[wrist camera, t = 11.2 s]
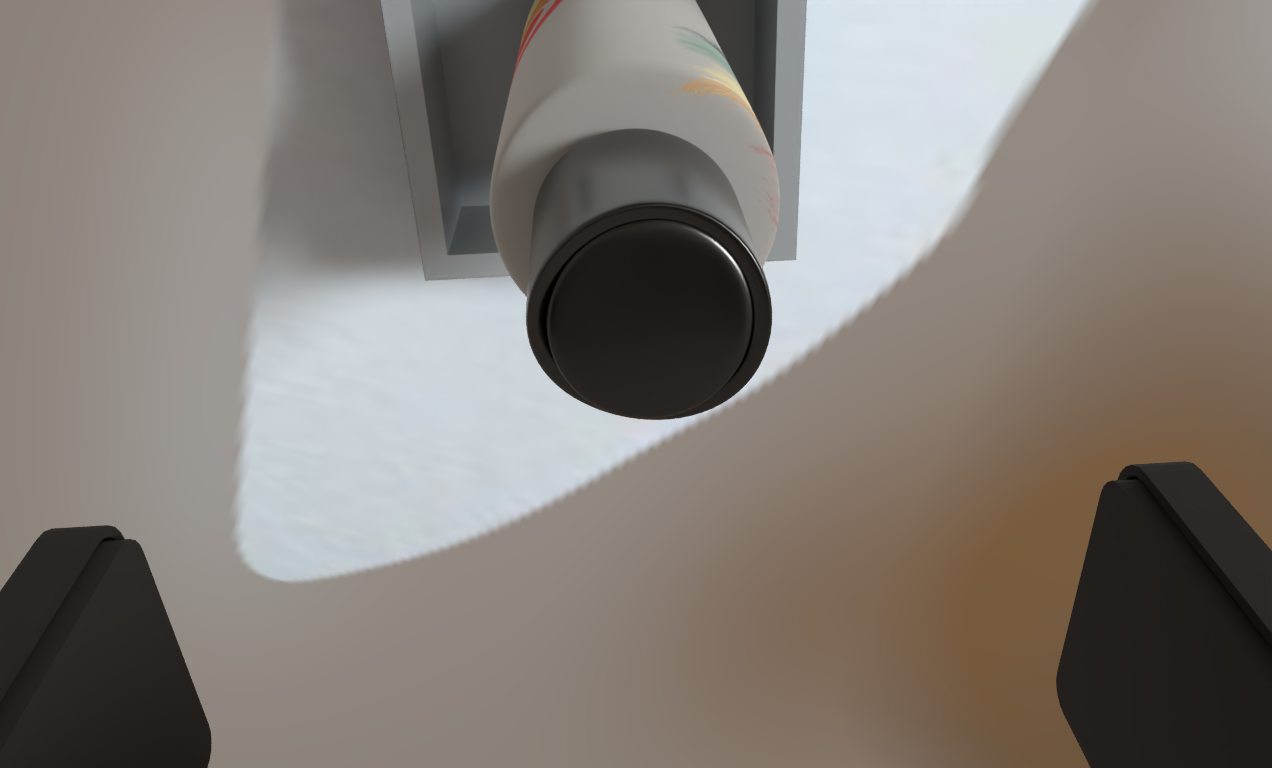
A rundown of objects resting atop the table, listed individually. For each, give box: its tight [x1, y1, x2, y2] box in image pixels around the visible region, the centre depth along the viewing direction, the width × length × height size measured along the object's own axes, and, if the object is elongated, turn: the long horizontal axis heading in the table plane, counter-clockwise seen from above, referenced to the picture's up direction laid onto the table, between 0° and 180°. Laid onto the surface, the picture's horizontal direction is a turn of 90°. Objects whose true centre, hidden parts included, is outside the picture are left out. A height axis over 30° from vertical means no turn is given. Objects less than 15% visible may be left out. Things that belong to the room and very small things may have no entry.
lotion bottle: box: [490, 0, 780, 420], centre depth 24 cm, size 6×6×20 cm
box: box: [381, 0, 807, 281], centre depth 31 cm, size 12×12×5 cm
